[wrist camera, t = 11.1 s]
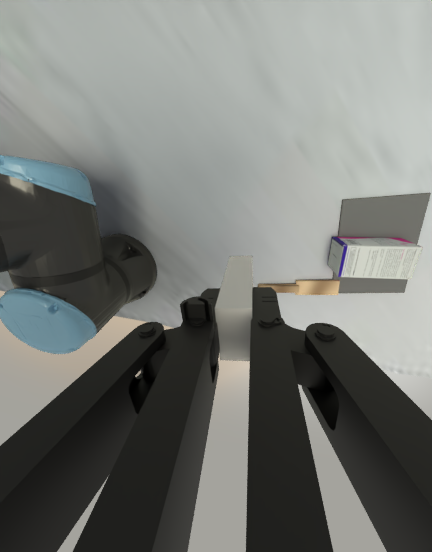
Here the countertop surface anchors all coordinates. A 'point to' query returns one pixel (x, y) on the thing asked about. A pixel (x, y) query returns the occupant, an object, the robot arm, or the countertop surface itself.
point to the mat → (381, 232)
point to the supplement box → (373, 257)
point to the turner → (307, 287)
